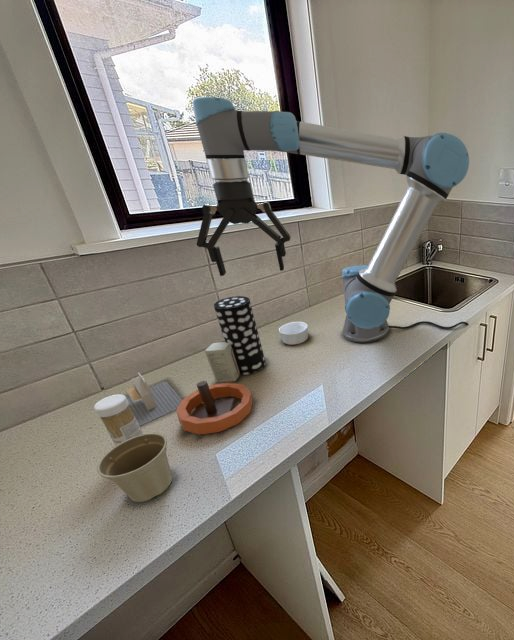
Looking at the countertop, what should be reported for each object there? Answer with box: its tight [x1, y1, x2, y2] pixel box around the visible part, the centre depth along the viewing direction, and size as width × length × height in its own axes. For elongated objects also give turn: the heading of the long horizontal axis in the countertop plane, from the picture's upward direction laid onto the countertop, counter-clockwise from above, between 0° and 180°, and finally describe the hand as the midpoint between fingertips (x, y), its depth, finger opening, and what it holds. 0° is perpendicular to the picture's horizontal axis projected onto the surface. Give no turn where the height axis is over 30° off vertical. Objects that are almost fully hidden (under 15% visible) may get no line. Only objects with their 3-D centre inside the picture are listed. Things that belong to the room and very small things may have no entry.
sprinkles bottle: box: [93, 393, 144, 447], centre depth 65 cm, size 5×5×13 cm
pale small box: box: [204, 341, 241, 384], centre depth 89 cm, size 5×4×10 cm
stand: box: [191, 380, 236, 418], centre depth 76 cm, size 8×8×9 cm
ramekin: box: [278, 321, 309, 346], centre depth 109 cm, size 9×9×4 cm
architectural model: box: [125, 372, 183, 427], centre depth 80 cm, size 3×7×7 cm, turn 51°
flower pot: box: [96, 432, 173, 503], centre depth 59 cm, size 9×9×9 cm
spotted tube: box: [213, 295, 267, 376], centre depth 91 cm, size 8×8×20 cm
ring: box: [175, 382, 253, 435], centre depth 77 cm, size 14×14×3 cm
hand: (253, 271), depth 84 cm, fingers open, 13 cm apart
